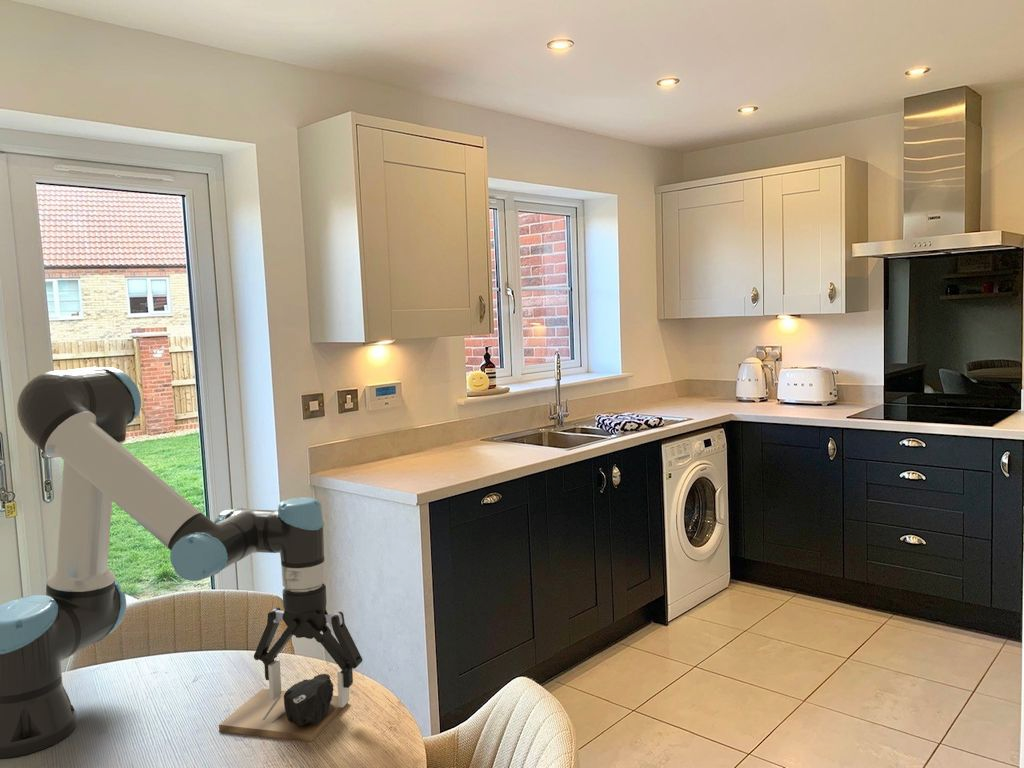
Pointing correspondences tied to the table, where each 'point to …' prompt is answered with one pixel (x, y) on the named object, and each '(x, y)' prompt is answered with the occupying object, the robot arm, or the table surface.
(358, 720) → the table surface
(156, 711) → the table surface
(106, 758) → the table surface
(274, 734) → the board
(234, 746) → the table surface
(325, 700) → the rock
